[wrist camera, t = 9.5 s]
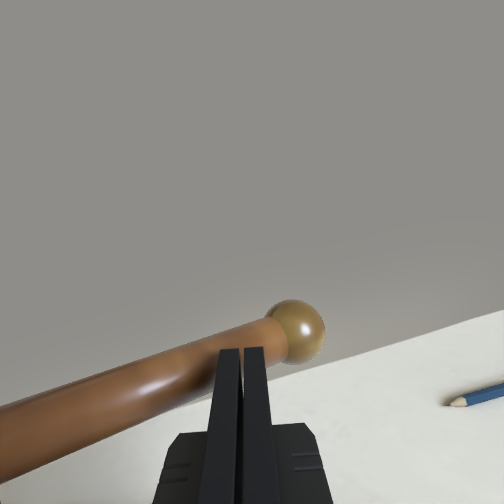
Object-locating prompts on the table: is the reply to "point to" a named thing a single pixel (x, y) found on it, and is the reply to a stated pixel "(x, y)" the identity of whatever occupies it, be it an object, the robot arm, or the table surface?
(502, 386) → the pencil
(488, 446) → the table surface
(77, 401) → the handle
